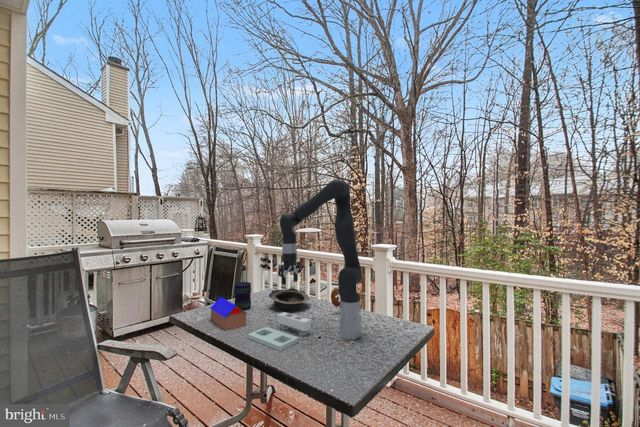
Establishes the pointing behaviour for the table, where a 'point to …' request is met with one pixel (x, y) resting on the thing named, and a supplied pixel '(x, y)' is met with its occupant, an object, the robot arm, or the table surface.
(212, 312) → the house
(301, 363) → the table surface
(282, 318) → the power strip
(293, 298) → the stone bowl
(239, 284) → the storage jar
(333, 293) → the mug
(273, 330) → the hole board
